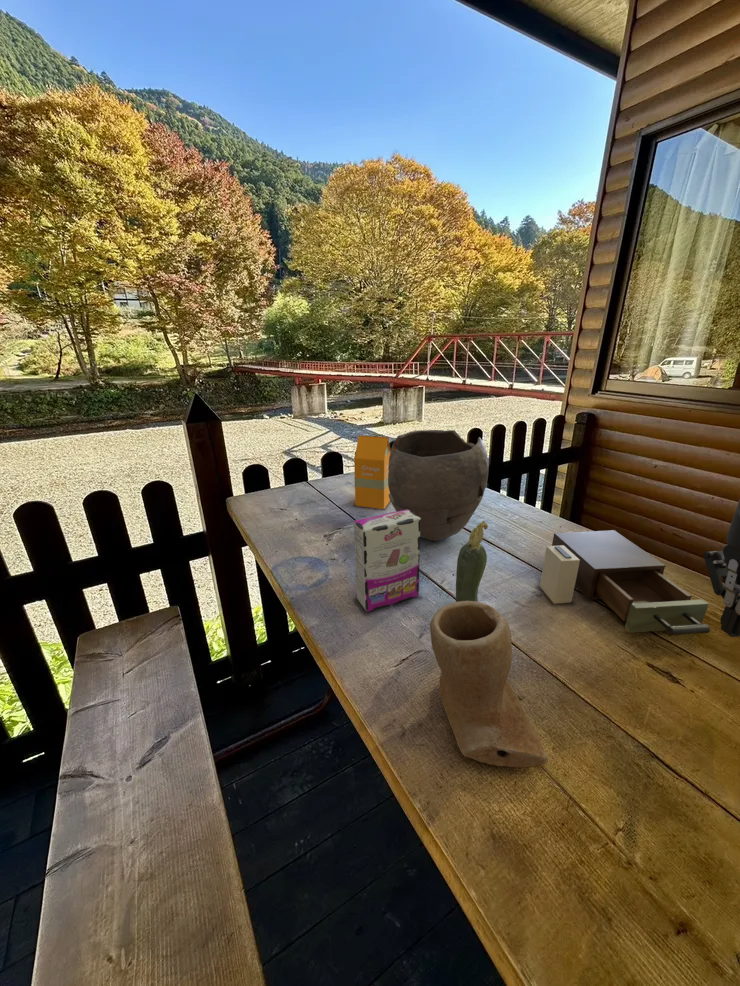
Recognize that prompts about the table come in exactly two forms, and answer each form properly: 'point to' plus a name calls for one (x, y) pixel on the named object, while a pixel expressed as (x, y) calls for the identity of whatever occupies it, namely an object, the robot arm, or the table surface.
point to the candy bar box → (387, 559)
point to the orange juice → (372, 472)
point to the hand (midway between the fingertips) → (731, 632)
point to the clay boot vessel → (482, 686)
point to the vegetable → (471, 566)
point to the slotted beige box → (559, 574)
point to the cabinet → (603, 556)
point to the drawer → (651, 602)
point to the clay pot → (437, 479)
